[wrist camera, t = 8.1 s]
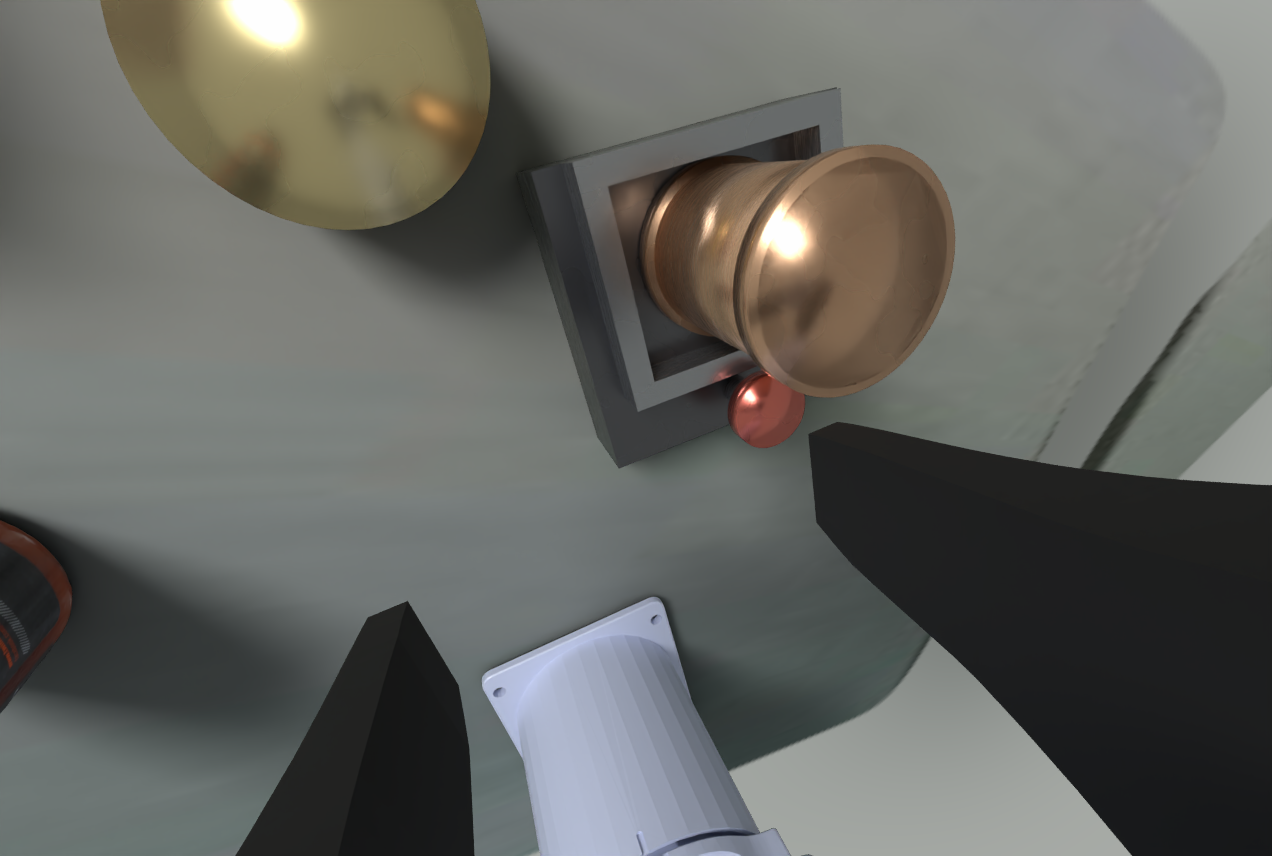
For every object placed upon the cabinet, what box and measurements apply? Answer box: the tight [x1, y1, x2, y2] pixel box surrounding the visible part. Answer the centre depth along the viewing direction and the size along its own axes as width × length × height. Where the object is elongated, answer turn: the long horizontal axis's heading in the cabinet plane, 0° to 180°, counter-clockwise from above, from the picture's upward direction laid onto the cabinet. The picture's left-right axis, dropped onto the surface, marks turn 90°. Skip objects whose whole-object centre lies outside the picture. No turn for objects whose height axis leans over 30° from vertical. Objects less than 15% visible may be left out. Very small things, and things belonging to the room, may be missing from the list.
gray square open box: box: [516, 87, 843, 468], centre depth 17 cm, size 9×9×5 cm
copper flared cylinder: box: [640, 145, 955, 398], centre depth 14 cm, size 5×5×6 cm
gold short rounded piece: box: [101, 0, 490, 230], centre depth 12 cm, size 6×6×4 cm
